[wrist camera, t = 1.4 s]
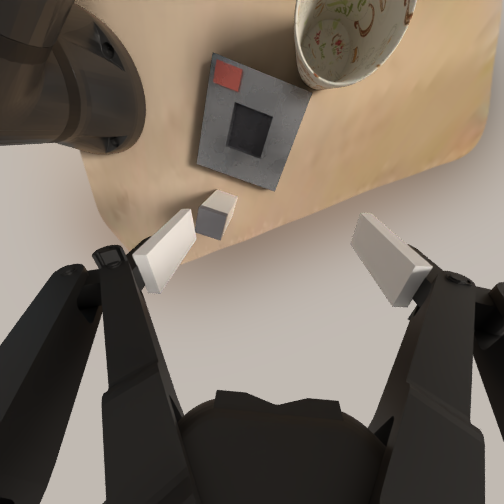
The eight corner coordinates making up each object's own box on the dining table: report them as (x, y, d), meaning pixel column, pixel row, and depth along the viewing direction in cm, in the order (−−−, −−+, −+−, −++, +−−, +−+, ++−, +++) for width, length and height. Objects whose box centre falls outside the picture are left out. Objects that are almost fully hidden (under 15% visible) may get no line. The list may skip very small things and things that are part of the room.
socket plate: (201, 162, 30) (195, 164, 27) (217, 58, 23) (211, 50, 21) (274, 188, 30) (274, 192, 28) (309, 95, 24) (313, 91, 22)
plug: (212, 209, 33) (194, 232, 26) (216, 189, 32) (198, 207, 24) (232, 215, 34) (220, 240, 26) (237, 196, 32) (226, 216, 24)
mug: (273, 43, 22) (273, -12, 14) (394, -69, 18) (505, -255, 9) (305, 117, 25) (321, 109, 17) (413, 38, 21) (509, -25, 12)
